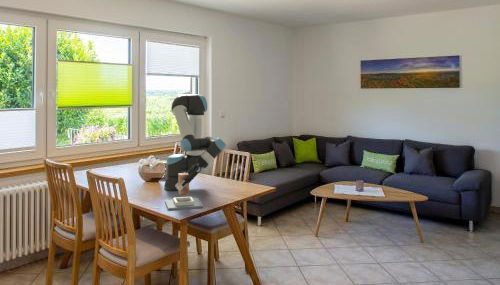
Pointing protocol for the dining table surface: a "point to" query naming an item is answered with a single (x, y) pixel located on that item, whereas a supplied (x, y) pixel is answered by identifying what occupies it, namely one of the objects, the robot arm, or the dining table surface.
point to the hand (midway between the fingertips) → (177, 188)
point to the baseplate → (183, 203)
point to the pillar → (180, 179)
